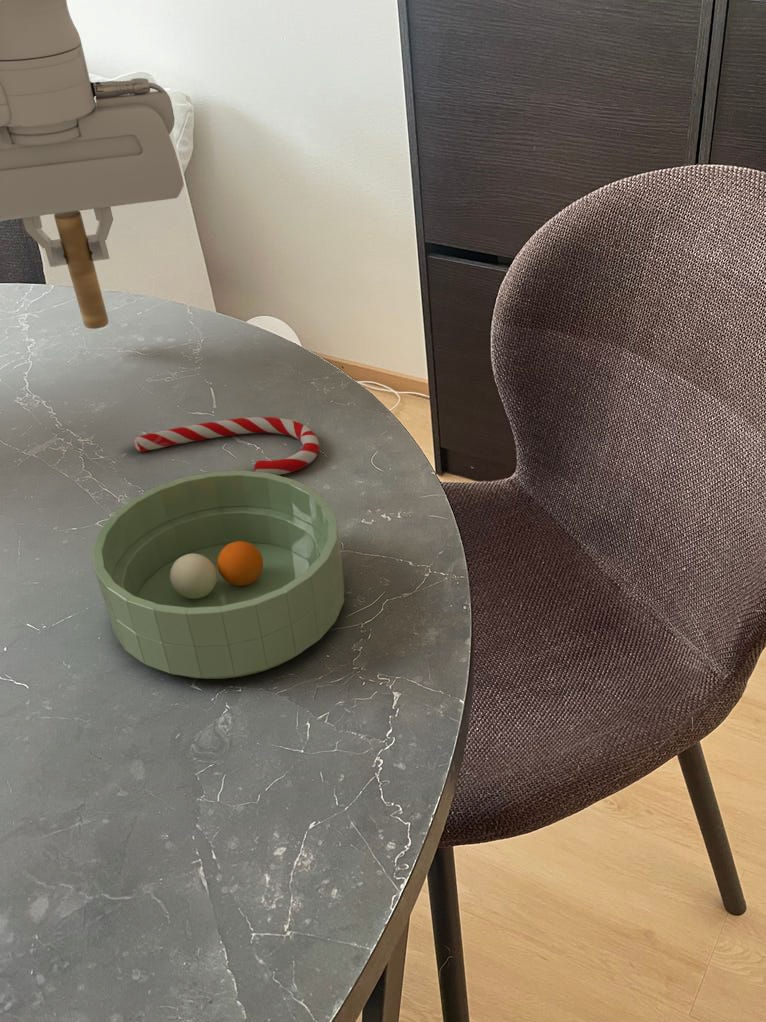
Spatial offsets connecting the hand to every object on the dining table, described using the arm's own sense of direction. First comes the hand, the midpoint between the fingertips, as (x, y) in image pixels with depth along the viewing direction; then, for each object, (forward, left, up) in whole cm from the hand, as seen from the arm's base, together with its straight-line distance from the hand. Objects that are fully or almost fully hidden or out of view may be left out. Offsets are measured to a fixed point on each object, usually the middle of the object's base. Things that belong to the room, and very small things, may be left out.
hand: (79, 261), depth 92 cm
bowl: (+5, -41, -9) cm, 42 cm away
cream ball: (+3, -40, -7) cm, 40 cm away
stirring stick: (0, 0, -6) cm, 6 cm away
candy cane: (+8, -21, -9) cm, 25 cm away
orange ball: (+6, -40, -7) cm, 41 cm away
